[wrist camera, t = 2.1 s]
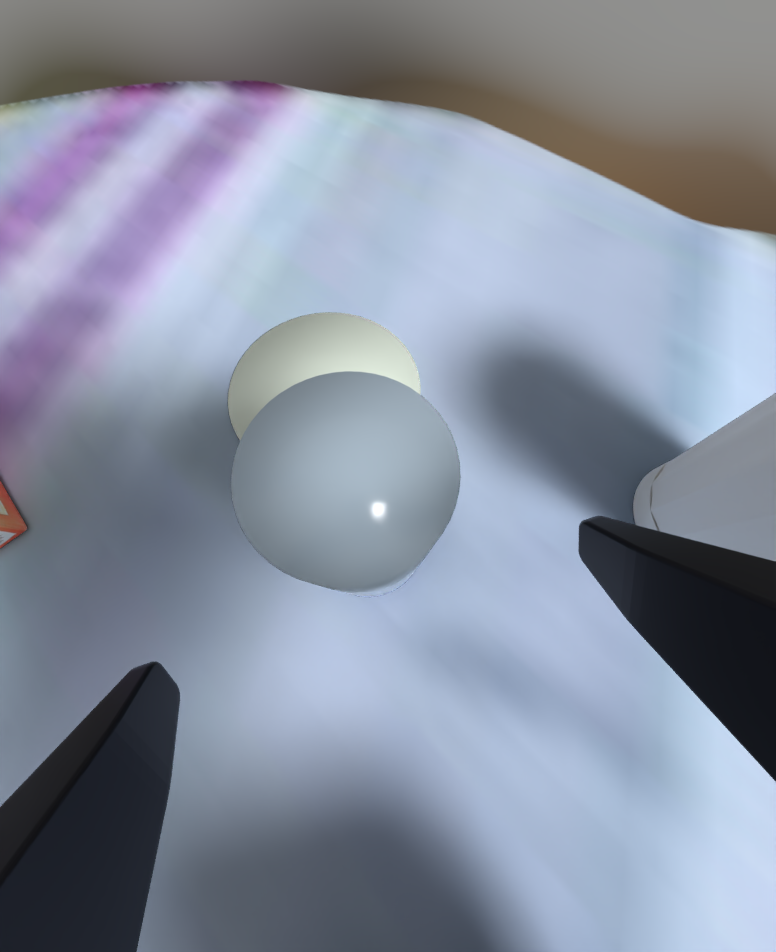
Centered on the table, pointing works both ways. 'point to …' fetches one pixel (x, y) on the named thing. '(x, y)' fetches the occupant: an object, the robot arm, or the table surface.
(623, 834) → the table surface
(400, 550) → the grey cylinder
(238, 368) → the mat
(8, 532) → the cracker box
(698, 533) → the cup
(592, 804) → the table surface
